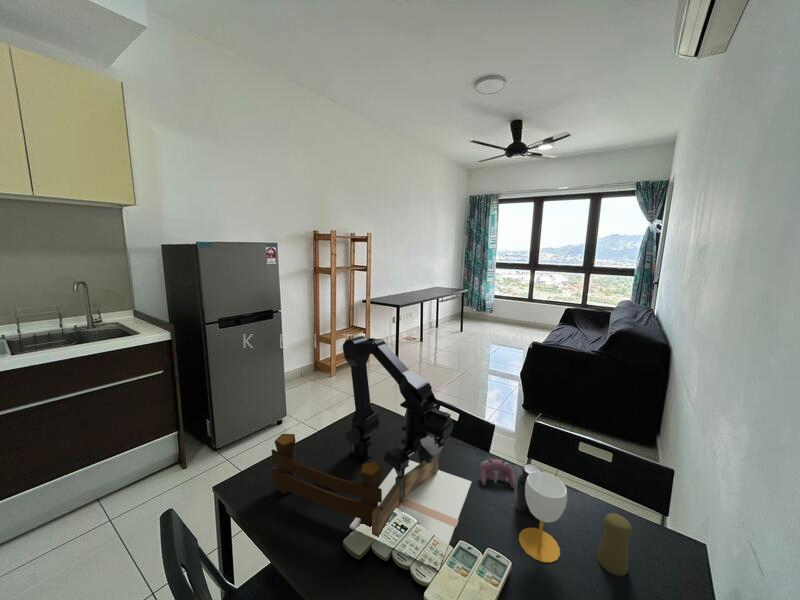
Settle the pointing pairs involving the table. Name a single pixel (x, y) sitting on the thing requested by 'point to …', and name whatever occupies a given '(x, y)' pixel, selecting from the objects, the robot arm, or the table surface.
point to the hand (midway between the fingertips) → (411, 472)
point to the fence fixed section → (387, 506)
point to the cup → (543, 515)
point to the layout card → (431, 501)
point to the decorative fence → (327, 483)
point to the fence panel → (419, 476)
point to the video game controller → (499, 466)
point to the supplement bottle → (520, 496)
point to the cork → (615, 544)
